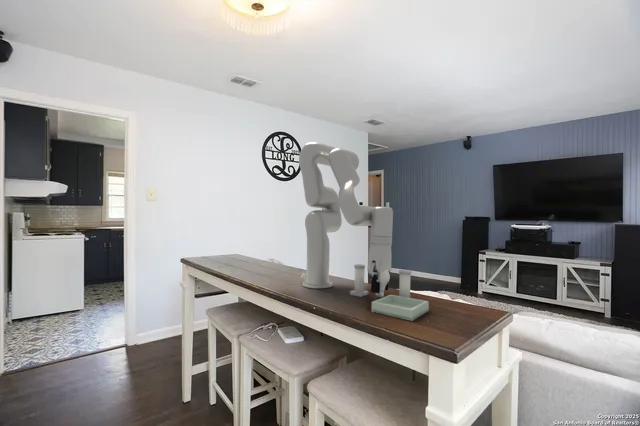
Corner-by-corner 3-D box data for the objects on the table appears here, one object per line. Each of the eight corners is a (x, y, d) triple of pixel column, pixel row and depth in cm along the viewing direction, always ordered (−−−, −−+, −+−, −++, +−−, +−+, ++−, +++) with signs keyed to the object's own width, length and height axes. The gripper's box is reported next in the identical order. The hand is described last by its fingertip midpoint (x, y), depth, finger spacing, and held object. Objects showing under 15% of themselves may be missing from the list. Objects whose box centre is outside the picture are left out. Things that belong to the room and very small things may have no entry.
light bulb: (388, 300, 111) (390, 269, 111) (369, 298, 112) (371, 267, 112) (388, 296, 117) (390, 266, 118) (370, 294, 119) (372, 265, 119)
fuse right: (394, 303, 108) (395, 271, 109) (400, 300, 112) (401, 269, 112) (408, 306, 105) (409, 272, 105) (414, 303, 109) (414, 271, 109)
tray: (371, 311, 98) (371, 301, 98) (390, 303, 108) (390, 294, 108) (412, 321, 90) (412, 310, 90) (428, 310, 100) (428, 301, 100)
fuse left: (349, 294, 120) (350, 265, 120) (357, 292, 124) (357, 263, 124) (361, 296, 117) (362, 266, 117) (368, 294, 120) (368, 265, 121)
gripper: (383, 239, 124) (381, 285, 124) (359, 241, 110) (358, 293, 110) (401, 240, 119) (399, 289, 119) (379, 243, 106) (377, 297, 106)
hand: (379, 290), depth 115 cm, fingers closed on light bulb, 5 cm apart
